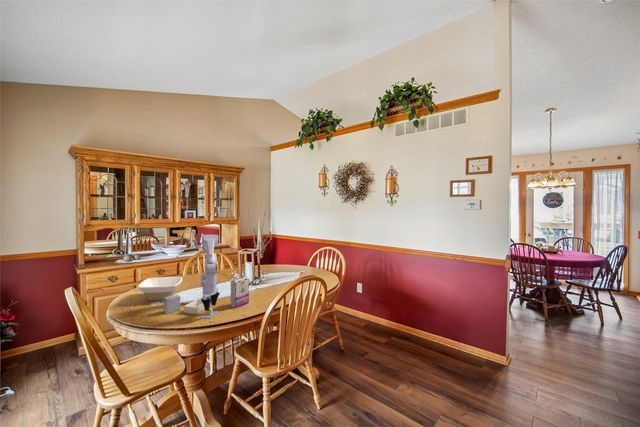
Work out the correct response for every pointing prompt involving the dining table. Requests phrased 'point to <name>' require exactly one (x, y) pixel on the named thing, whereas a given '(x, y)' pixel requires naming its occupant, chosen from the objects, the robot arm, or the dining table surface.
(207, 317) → the lid
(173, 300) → the medicine box
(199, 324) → the dining table surface
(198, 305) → the box
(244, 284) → the candy bar box
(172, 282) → the bowl
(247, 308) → the dining table surface
